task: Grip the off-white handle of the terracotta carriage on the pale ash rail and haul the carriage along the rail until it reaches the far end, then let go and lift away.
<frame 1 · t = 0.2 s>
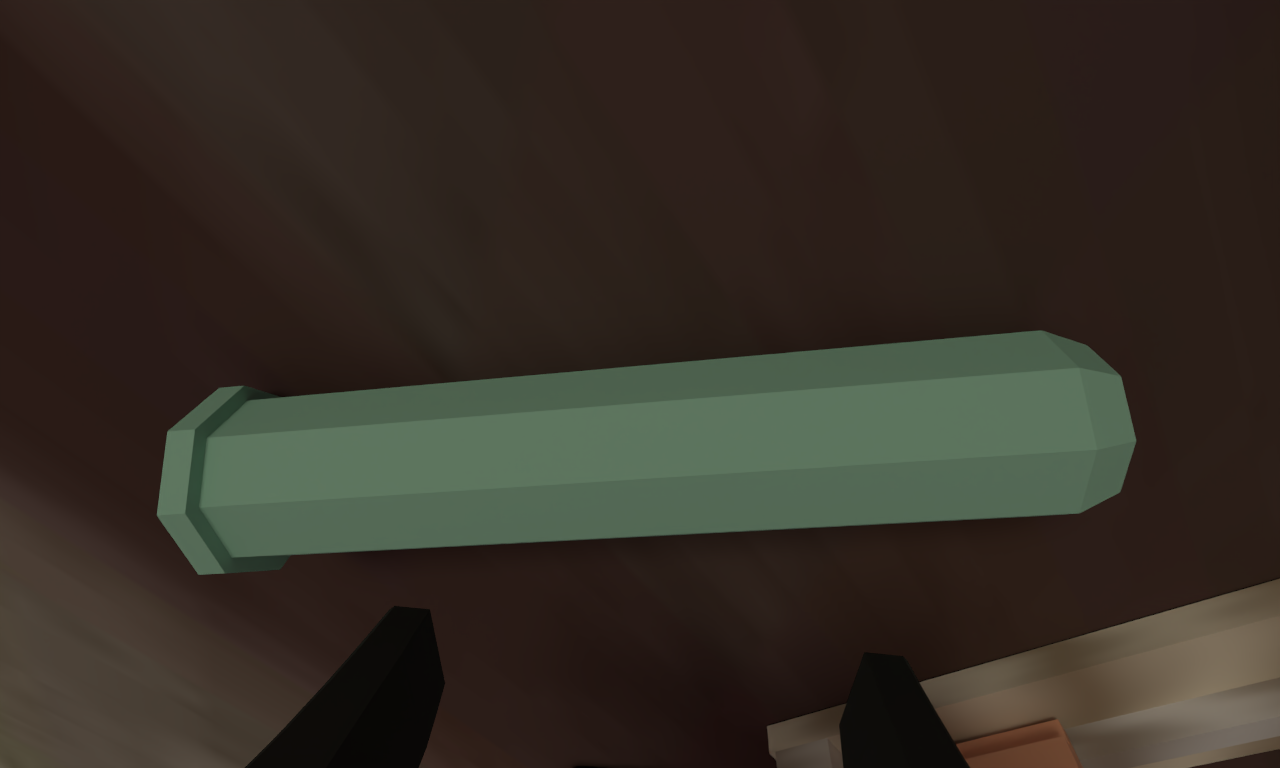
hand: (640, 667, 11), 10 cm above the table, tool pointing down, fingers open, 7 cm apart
rail: (1005, 720, 27), on the table
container: (641, 403, 21), on the table
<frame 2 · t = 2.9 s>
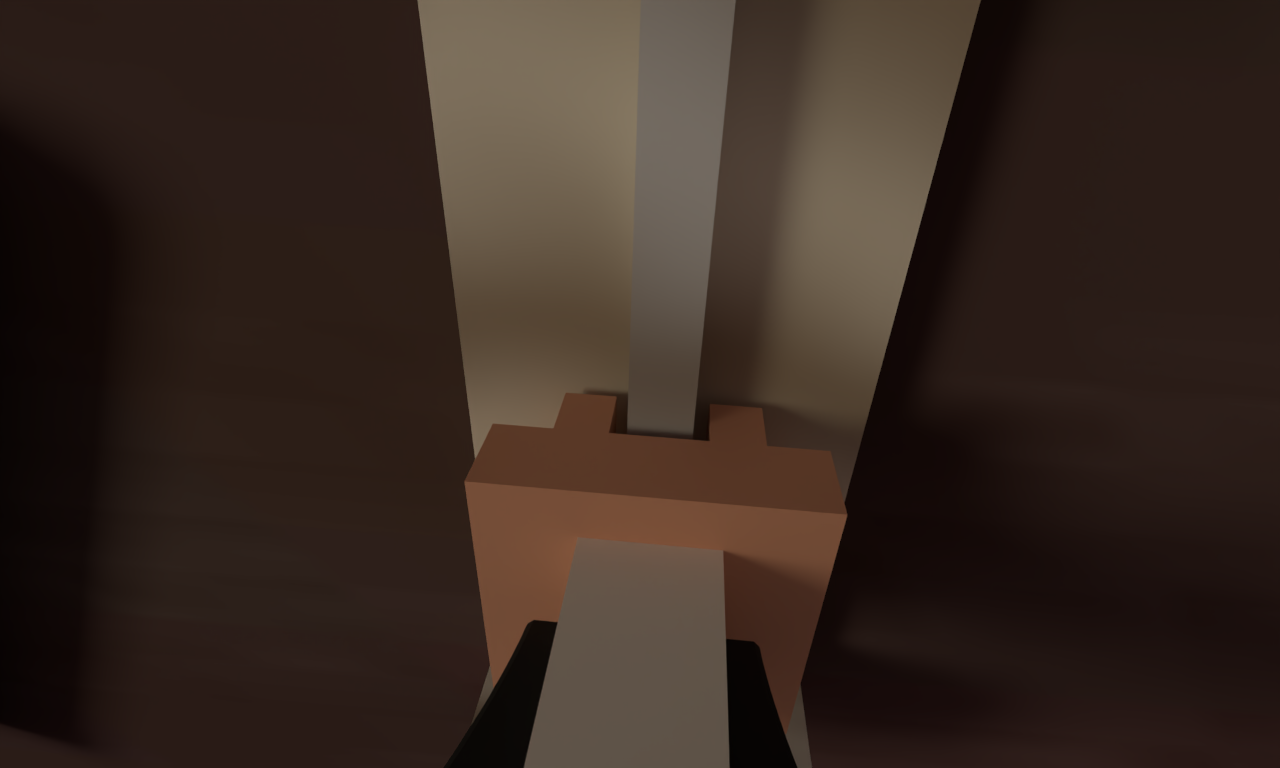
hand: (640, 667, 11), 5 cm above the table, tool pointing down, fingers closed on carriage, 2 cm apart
rail: (662, 437, 15), on the table
carriage: (639, 678, 11), point 5 cm above the table, slide at -1.0 cm, touching gripper
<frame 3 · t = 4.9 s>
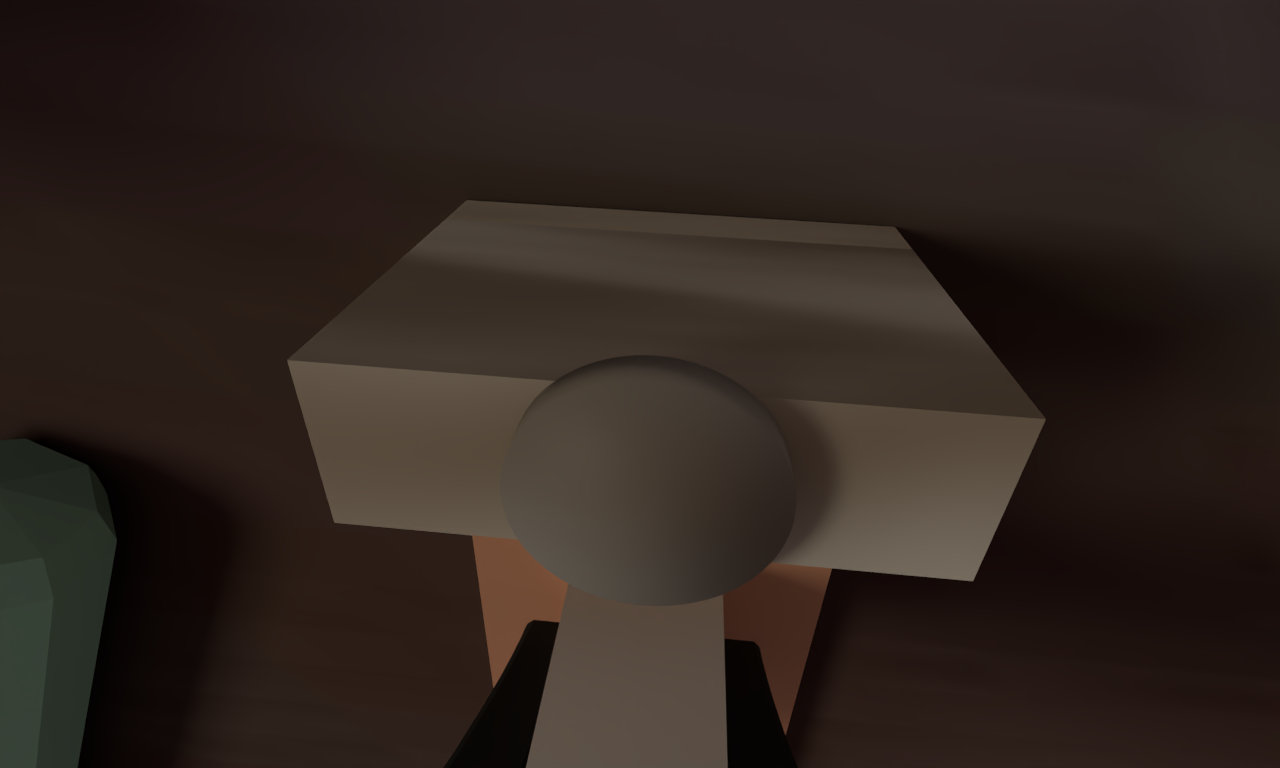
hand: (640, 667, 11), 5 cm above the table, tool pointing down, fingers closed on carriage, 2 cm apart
rail: (646, 666, 19), on the table
carriage: (639, 683, 11), point 5 cm above the table, slide at 7.3 cm, touching gripper
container: (59, 664, 23), on the table
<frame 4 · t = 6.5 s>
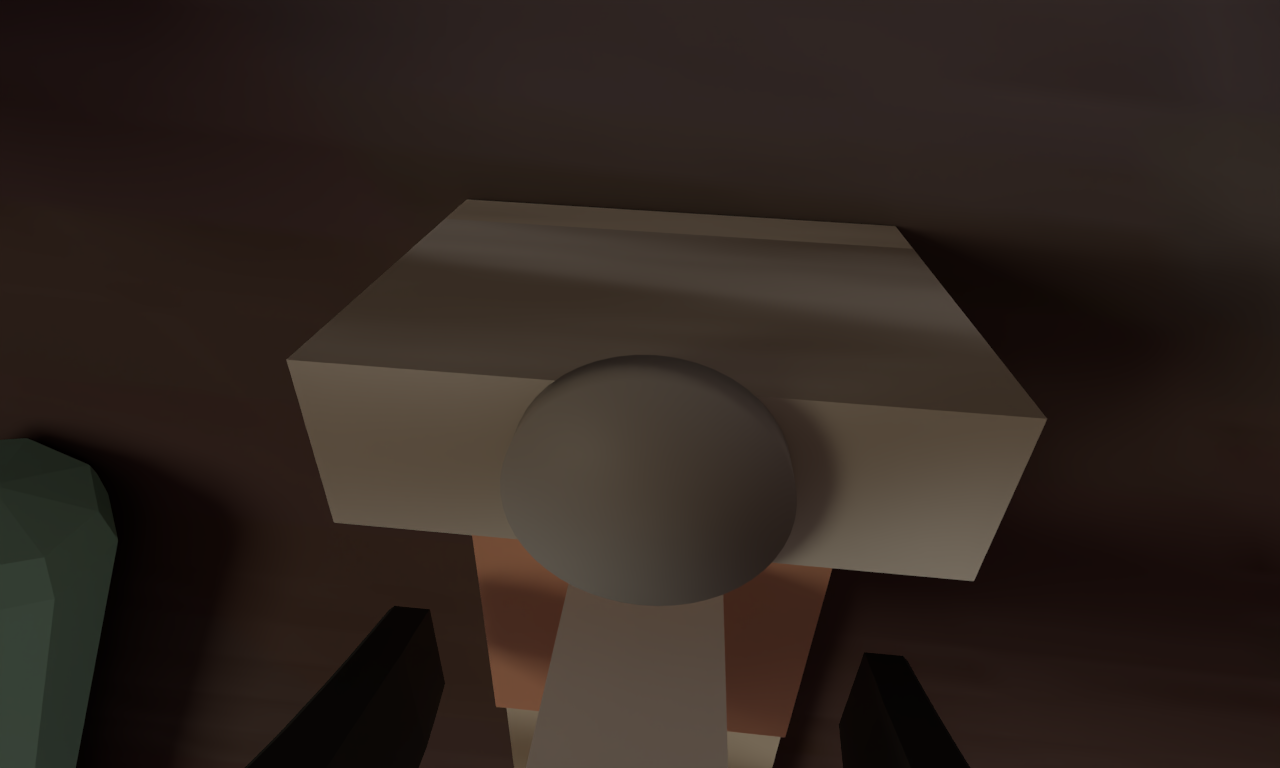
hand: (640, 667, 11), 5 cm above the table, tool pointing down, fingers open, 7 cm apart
rail: (646, 665, 19), on the table
carriage: (639, 683, 11), point 5 cm above the table, slide at 7.4 cm
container: (58, 663, 23), on the table
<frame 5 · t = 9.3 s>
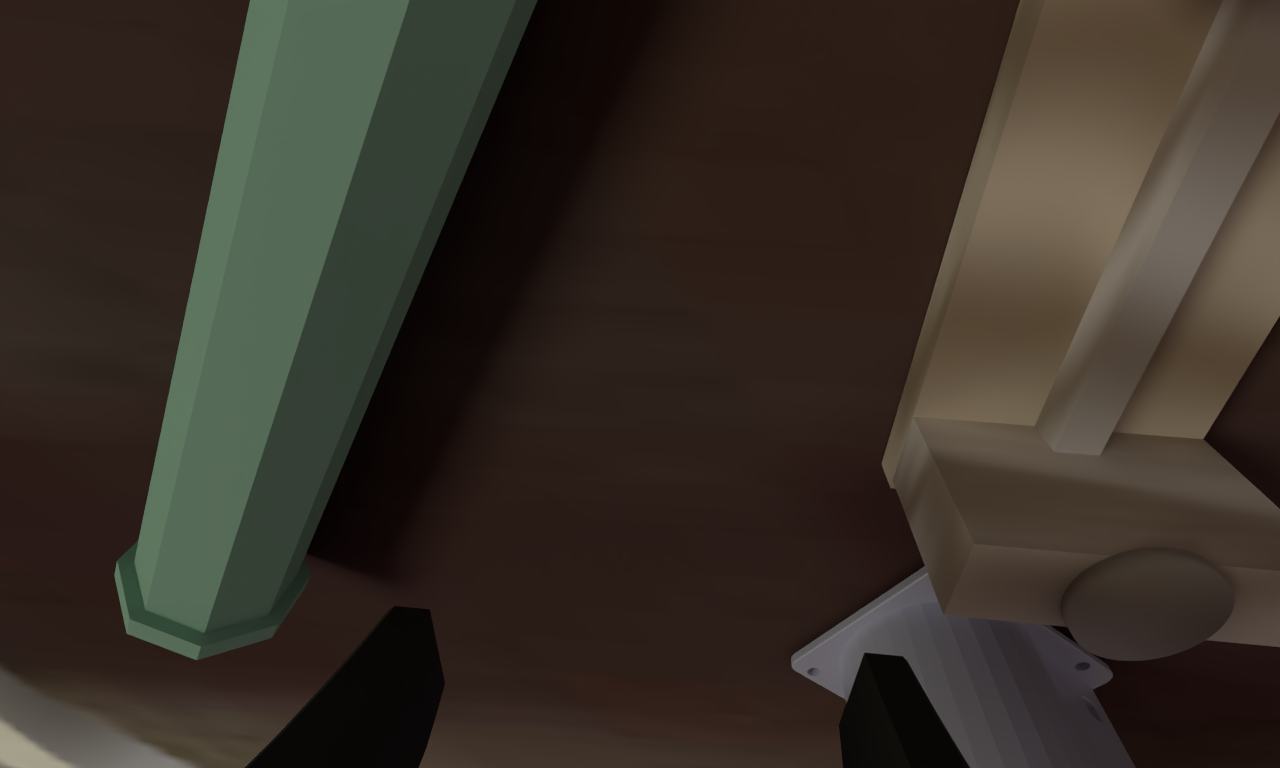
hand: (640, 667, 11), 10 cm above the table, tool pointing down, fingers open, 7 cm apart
rail: (1129, 193, 16), on the table
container: (350, 278, 20), on the table
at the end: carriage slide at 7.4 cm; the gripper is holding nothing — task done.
